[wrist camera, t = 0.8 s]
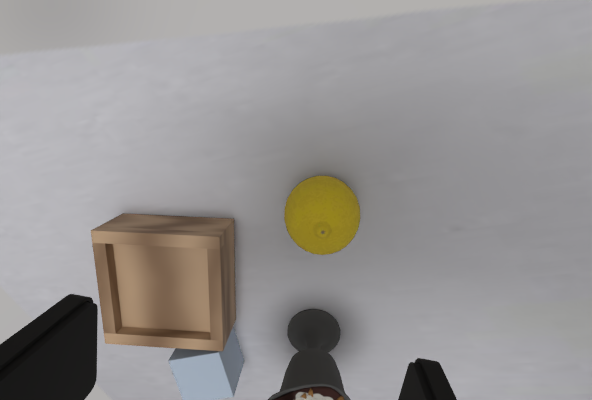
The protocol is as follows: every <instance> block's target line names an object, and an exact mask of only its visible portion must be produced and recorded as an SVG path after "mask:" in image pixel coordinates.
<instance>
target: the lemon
mask: <svg viewBox="0 0 592 400" xmlns="http://www.w3.org/2000/svg"><path fill="white" fill-rule="evenodd" d="M284 218H285V223H286V228H287V230H288V232H289V234H290V236H291V238H292V239H293V240H294V242H295V243H296V244H297V245H298V246H299V247H301V248H302V249H304V250H305V251H308V252H310V253H313V254H320V255H325V254H332V253H335V252H337V251H340V250H341V249H343V248H344V247H346V246H347V245H348V244H349V243H350V241H351V240H352V239H353V238H354V236H355V234H356V232H357V230H358V227H359V222H360V207H359V204H358V201H357V198H356V196H355V195H354V193H353V191H352V190H351V189H350V188H349V187H348V186H347V185H346V184H345V183H344V182H342V181H340V180H338V179H336V178H333V177H329V176H315V177H311V178H308V179H306V180H304V181H302V182H301V183H299V184H298V185H297V186H296V187H295V188H294V189H293V190H292V192H291V194H290V195H289V197H288V199H287V202H286V206H285V217H284Z"/></svg>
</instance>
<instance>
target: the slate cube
mask: <svg viewBox="0 0 592 400" xmlns="http://www.w3.org/2000/svg"><path fill="white" fill-rule="evenodd" d="M243 363H244V359H243V355H242V352H241V349H240V346H239V343H238V340H237V336H236V333H235V330H234V327H233V328H232V330H231V333H230V335H229V338H228V340H227V343H226V345H225V348H224V350H223V351H210V350H195V349H180V348H176V349H175V351H174V352H173V354H172V356H171V357H170V359H169V364H170V367H171V369H172V372H173V375H174V377H175V380H176V383H177V385H178V388H179V391H180V393H181V396H182V399H183V400H216V399H222V398H229V397H234V394H235V390H236V387H237V384H238V380H239V377H240V373H241V370H242V367H243Z"/></svg>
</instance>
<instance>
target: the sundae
mask: <svg viewBox="0 0 592 400" xmlns="http://www.w3.org/2000/svg"><path fill="white" fill-rule="evenodd" d="M288 337H289V340H290V342H291V344H292V345H293V346H294V347H295V348H296V349H297V350H298V351H299V352H298V353H296V354H295V355H294V356H293V357H292V359H291V361H290V363H289V365H288V368H287V370H286V372H285V376H284V379H283V383H282V386H281V389H280V392H278V393H276V394H274V395H272V396H271V397H270V398H269V399H268V400H350V398H349V397H348V396H347V395H346V394H345V392H344V388H343V384H342V380H341V376H340V373H339V370H338V368H337V365H336V363H335V361H334V359H333V358H332V356H331V355H330V354H329V353H327V352H329V351H331V350H332V349H333V348H334V347H335V346H336V345H337V343H338V341H339V338H340V328H339V325H338V323H337V321H336V320H335V319H334V318H333V317H332V316H331V315H330V314H328V313H326V312H324V311H321V310H314V309H310V310H305V311H302V312H300V313H298V314H297V315H296V316H294V317H293V318H292V320H291V321H290V323H289V325H288Z"/></svg>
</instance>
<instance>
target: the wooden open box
mask: <svg viewBox="0 0 592 400" xmlns="http://www.w3.org/2000/svg"><path fill="white" fill-rule="evenodd" d="M91 235H92V243H93V251H94V259H95V267H96V275H97V282H98V290H99V298H100V306H101V314H102V321H103V329H104V337H105V343H106V344H121V345H136V346H150V347H165V348H180V349H195V350H210V351H223V350H224V348H225V345H226V343H227V340H228V338H229V335H230V333H231V330H232V328H233V325H234V323H235V320H236V306H235V251H234V219H228V218H206V217H184V216H163V215H141V214H121V215H119V216H118V217H116V218H114V219H112V220H110V221H108V222H106V223H104V224H102V225H101V226H99V227H97V228H95V229H93V230H91Z"/></svg>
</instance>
